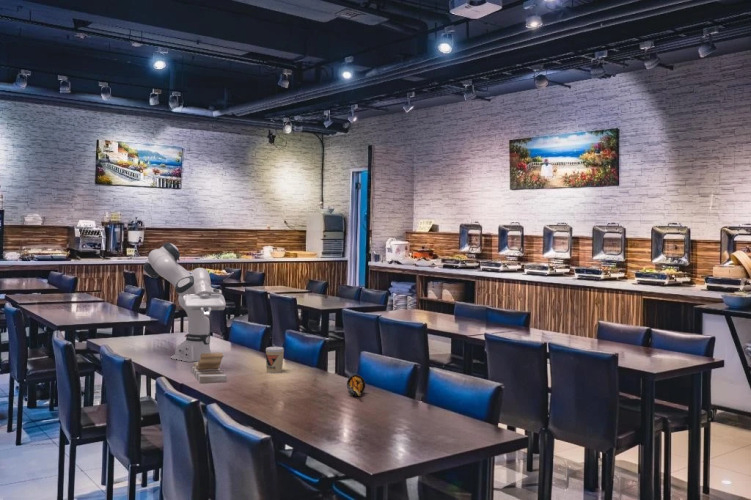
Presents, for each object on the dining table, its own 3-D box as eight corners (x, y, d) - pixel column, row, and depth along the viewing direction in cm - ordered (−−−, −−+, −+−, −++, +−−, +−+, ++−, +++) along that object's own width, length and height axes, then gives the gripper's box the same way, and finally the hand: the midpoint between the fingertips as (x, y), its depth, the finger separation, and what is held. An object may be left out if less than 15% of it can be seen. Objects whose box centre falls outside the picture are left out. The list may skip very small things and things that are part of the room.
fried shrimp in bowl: (363, 380, 314) (378, 375, 299) (356, 403, 310) (371, 399, 294) (345, 373, 312) (359, 367, 296) (338, 396, 308) (351, 392, 292)
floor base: (191, 371, 343) (191, 361, 342) (215, 370, 347) (215, 360, 347) (200, 383, 318) (200, 372, 318) (226, 381, 323) (226, 371, 323)
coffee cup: (261, 372, 348) (261, 348, 348) (272, 369, 356) (272, 346, 356) (276, 374, 343) (277, 350, 343) (287, 371, 352) (287, 347, 351)
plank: (197, 370, 331) (197, 366, 332) (218, 369, 335) (218, 365, 337) (201, 357, 322) (201, 353, 323) (223, 356, 326) (222, 352, 327)
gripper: (183, 290, 343) (185, 312, 334) (224, 290, 351) (227, 311, 342) (181, 298, 347) (184, 320, 338) (222, 298, 355) (225, 319, 347)
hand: (206, 315), depth 340 cm, fingers closed
